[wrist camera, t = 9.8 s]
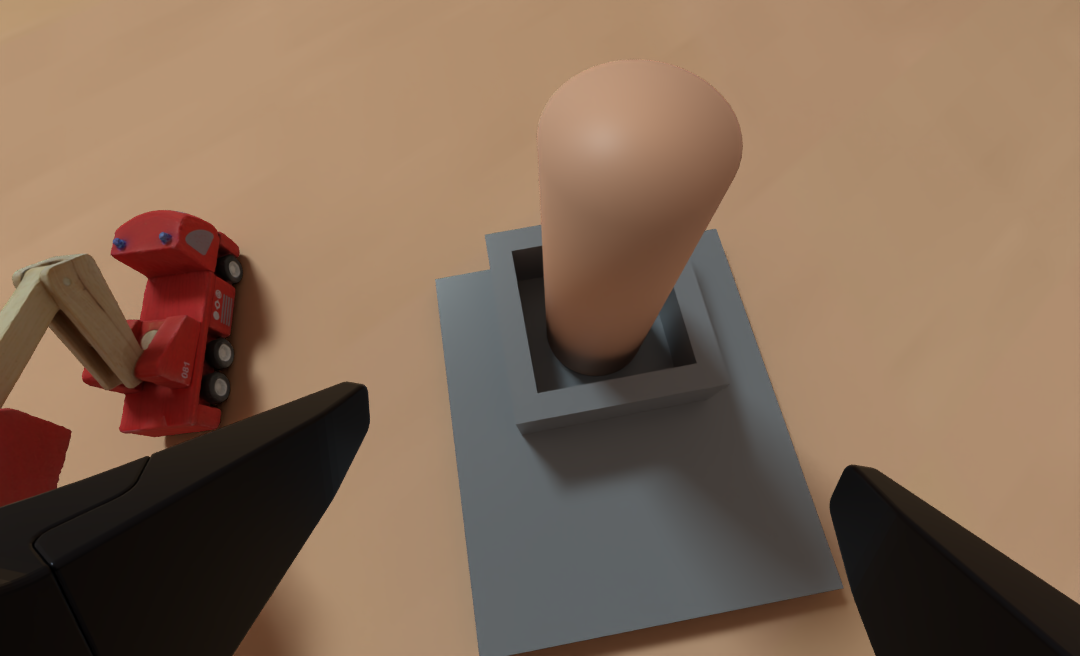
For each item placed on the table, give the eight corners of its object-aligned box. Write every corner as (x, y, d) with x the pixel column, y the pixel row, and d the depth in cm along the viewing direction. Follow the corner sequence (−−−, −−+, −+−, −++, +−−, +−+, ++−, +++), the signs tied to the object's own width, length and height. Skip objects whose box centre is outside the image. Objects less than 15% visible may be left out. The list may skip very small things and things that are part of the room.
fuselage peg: (662, 330, 22) (785, 135, 10) (595, 396, 21) (646, 265, 9) (593, 268, 23) (632, 29, 11) (526, 328, 22) (495, 135, 10)
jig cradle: (829, 583, 19) (895, 603, 15) (484, 653, 19) (465, 690, 15) (709, 237, 25) (736, 190, 21) (439, 286, 24) (418, 246, 21)
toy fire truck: (248, 242, 26) (79, 101, 17) (218, 516, 21) (-42, 527, 12) (186, 249, 26) (-18, 111, 17) (142, 524, 21) (-176, 542, 12)
